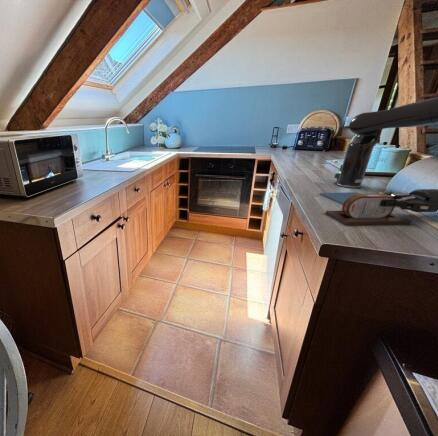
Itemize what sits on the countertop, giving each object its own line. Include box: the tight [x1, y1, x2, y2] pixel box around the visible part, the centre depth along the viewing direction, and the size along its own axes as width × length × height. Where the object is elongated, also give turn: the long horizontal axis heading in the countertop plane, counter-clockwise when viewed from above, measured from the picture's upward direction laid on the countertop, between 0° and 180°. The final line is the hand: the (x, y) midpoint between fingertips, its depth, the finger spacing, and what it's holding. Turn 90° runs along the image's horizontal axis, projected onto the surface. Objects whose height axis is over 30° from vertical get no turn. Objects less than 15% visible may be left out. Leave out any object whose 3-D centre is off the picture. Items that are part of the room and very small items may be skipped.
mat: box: [320, 192, 361, 205], centre depth 101 cm, size 14×16×1 cm
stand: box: [325, 210, 412, 226], centre depth 82 cm, size 10×20×1 cm, turn 89°
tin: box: [341, 193, 396, 218], centre depth 81 cm, size 15×3×8 cm, turn 87°
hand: (377, 201), depth 80 cm, fingers closed on tin, 3 cm apart
